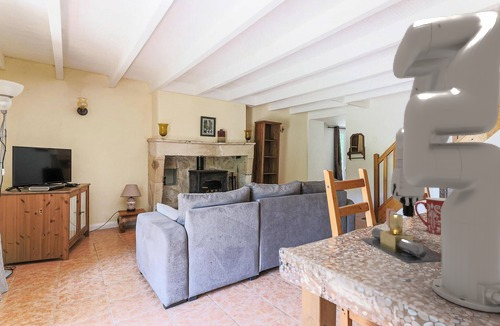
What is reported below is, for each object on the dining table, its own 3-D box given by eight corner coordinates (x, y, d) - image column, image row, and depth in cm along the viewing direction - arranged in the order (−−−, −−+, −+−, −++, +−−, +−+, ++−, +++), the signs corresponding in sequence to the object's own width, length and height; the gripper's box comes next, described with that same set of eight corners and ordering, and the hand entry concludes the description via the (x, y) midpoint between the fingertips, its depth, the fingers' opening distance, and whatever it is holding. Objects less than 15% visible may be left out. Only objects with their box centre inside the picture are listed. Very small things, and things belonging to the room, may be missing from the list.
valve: (452, 260, 74) (452, 242, 74) (407, 263, 72) (407, 244, 72) (396, 238, 95) (396, 224, 96) (361, 240, 93) (361, 225, 93)
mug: (453, 232, 104) (453, 198, 104) (453, 237, 97) (453, 201, 97) (416, 227, 112) (416, 196, 112) (413, 231, 105) (413, 198, 105)
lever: (403, 234, 81) (403, 215, 81) (390, 233, 82) (390, 215, 82) (395, 224, 94) (395, 208, 94) (383, 224, 95) (383, 208, 95)
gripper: (419, 164, 97) (419, 214, 97) (381, 164, 96) (381, 214, 96) (436, 164, 90) (436, 218, 90) (395, 164, 88) (395, 219, 88)
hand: (408, 216), depth 93 cm, fingers closed
